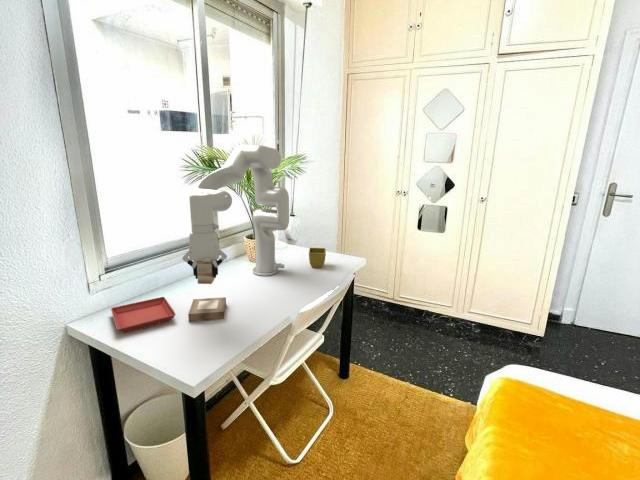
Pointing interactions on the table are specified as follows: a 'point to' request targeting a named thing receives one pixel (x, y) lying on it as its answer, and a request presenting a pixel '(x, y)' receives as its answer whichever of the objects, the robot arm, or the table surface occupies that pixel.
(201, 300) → the base slab
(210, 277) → the skincare box
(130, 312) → the plant saucer
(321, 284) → the table surface
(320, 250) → the flower pot
